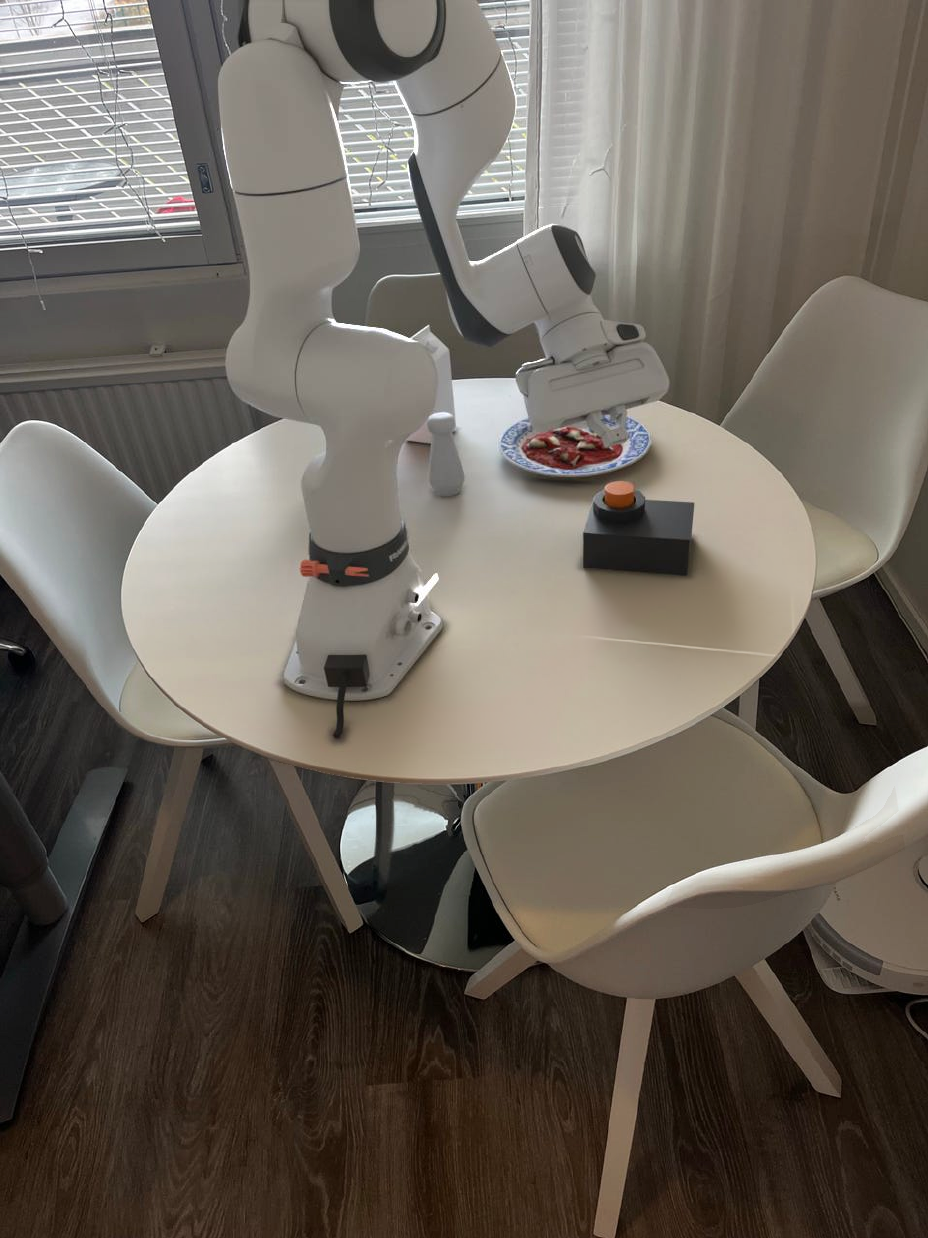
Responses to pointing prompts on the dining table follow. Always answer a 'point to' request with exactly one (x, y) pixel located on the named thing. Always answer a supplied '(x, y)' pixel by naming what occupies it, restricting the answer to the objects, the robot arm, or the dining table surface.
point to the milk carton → (444, 377)
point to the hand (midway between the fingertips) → (617, 443)
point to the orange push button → (619, 494)
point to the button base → (639, 536)
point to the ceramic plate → (572, 448)
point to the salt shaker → (444, 456)
